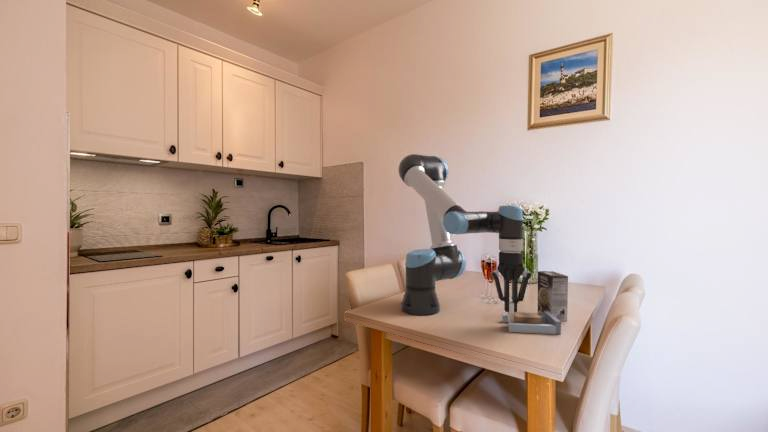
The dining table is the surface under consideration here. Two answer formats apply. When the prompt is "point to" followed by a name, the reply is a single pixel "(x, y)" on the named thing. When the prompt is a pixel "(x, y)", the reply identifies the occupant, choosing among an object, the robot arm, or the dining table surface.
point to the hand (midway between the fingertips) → (510, 321)
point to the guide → (536, 325)
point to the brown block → (527, 318)
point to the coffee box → (553, 294)
